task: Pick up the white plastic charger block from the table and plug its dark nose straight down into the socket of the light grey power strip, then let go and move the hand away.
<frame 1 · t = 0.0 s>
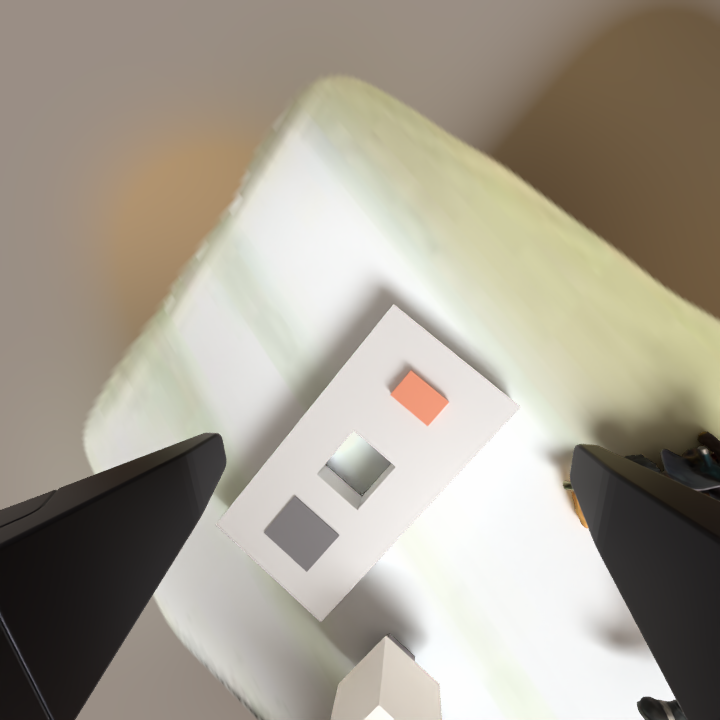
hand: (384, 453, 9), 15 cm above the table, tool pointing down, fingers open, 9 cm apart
action figure: (658, 541, 23), on the table
charger: (389, 657, 26), on the table
power strip: (360, 460, 25), on the table
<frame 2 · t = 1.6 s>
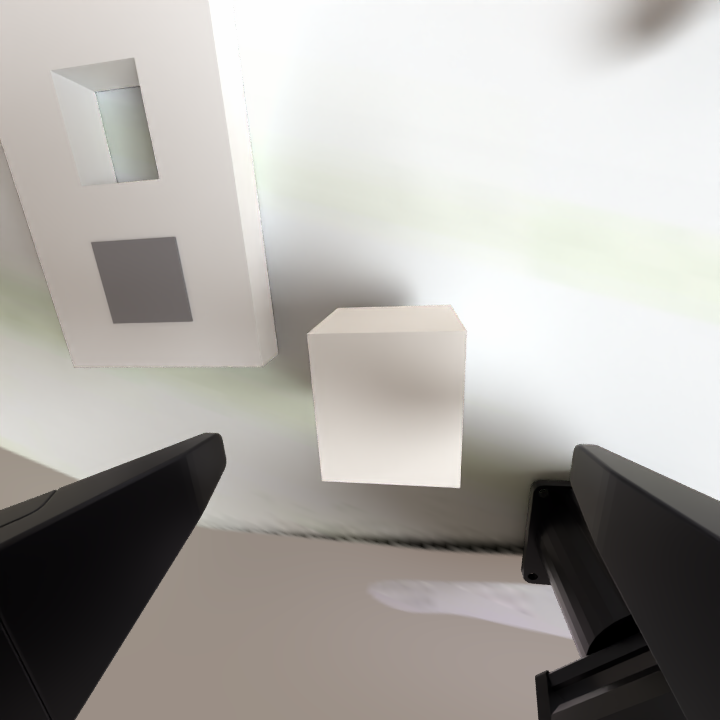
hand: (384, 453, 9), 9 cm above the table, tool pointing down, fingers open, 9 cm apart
charger: (396, 352, 17), on the table
power strip: (143, 140, 15), on the table
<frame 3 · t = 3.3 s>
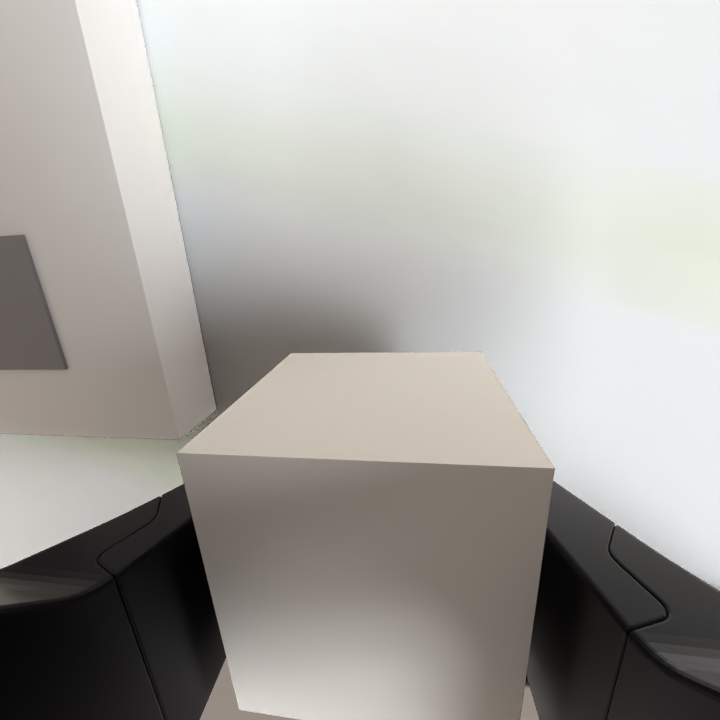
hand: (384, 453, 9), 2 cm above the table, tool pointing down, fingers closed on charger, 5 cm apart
charger: (390, 412, 11), on the table, touching gripper
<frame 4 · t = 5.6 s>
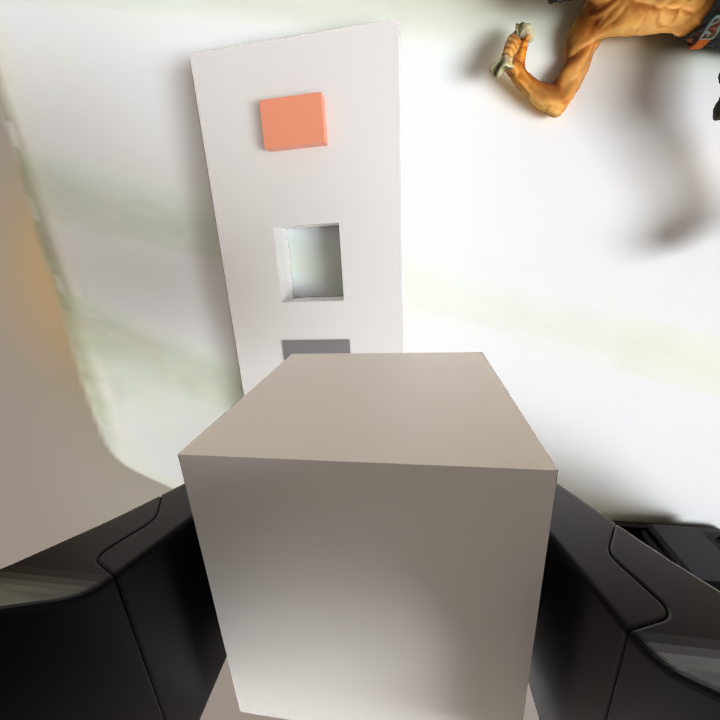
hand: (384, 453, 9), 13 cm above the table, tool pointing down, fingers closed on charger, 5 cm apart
action figure: (662, 69, 16), on the table
charger: (391, 413, 11), point 11 cm above the table, touching gripper
power strip: (318, 263, 21), on the table
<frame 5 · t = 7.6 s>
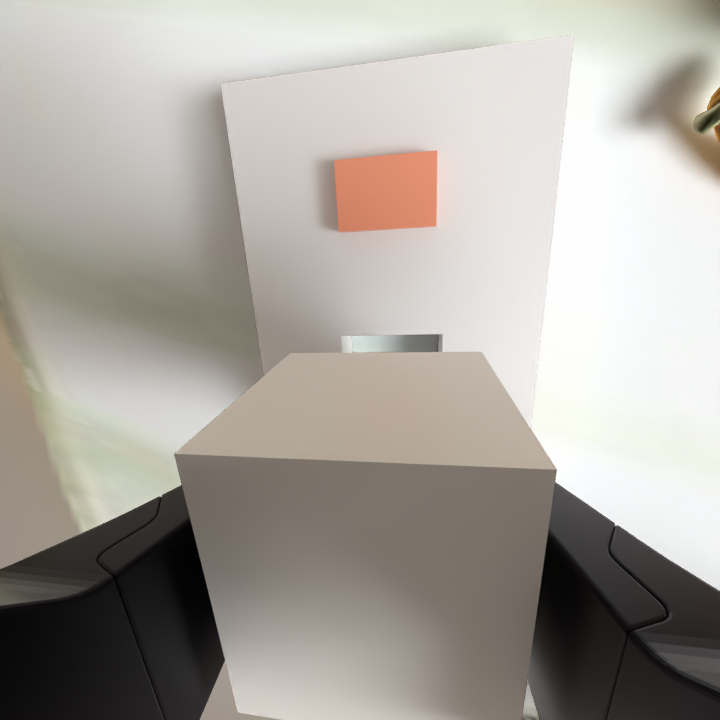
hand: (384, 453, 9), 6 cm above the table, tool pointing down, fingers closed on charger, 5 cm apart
charger: (390, 412, 11), point 4 cm above the table, touching gripper
power strip: (394, 369, 15), on the table
when the fingers open (3 cm above the table, at t = 9.1 s): charger stays where it is, resting on power strip.
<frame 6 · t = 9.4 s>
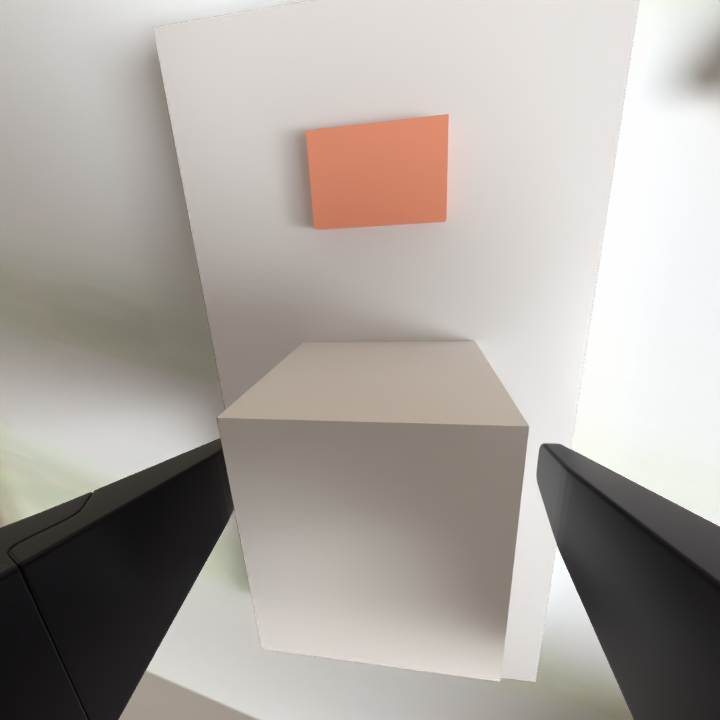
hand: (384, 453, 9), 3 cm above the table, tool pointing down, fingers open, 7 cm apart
charger: (392, 399, 12), resting on power strip
power strip: (391, 399, 12), on the table
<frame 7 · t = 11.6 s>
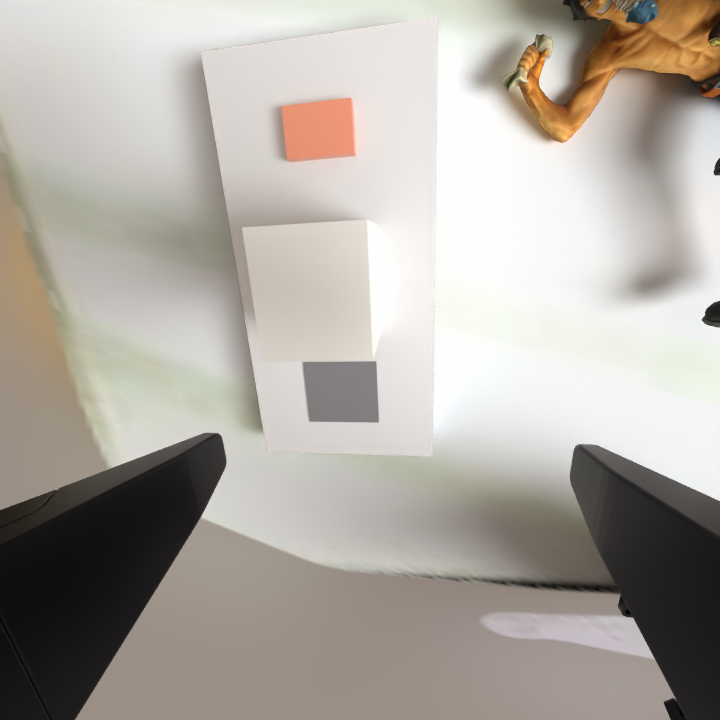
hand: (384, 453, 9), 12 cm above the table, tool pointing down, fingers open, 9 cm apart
action figure: (673, 110, 15), on the table
charger: (340, 278, 19), resting on power strip
power strip: (340, 278, 19), on the table
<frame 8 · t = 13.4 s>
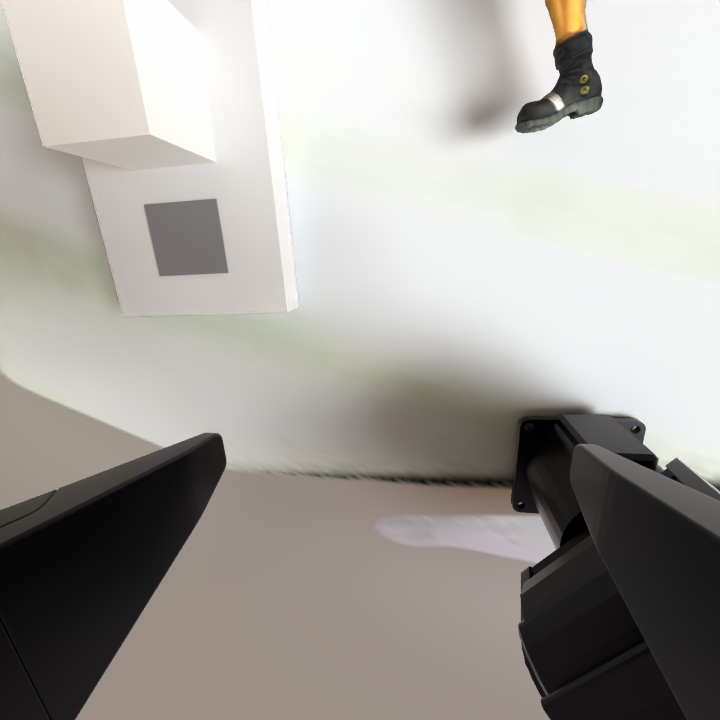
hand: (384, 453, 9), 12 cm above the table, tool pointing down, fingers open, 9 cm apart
charger: (188, 119, 18), resting on power strip
power strip: (187, 119, 18), on the table
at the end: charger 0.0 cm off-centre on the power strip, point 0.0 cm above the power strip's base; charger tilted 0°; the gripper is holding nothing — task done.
